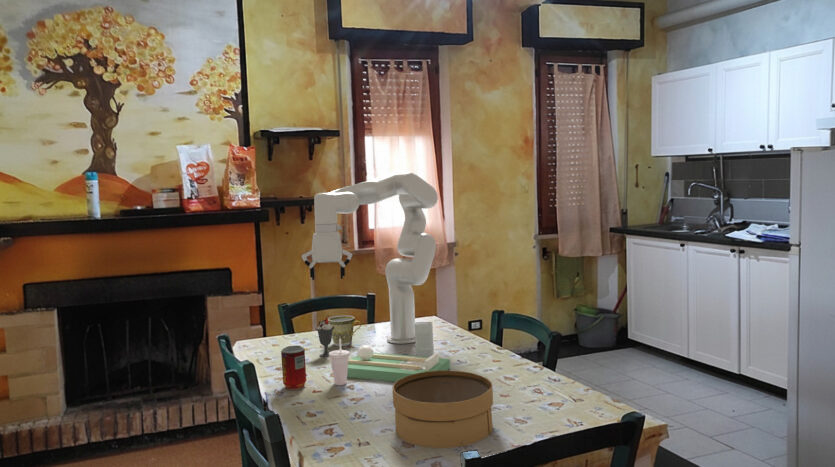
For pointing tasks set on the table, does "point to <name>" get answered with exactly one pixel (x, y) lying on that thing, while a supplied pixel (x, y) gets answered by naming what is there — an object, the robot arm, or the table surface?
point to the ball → (365, 353)
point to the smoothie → (339, 365)
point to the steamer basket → (443, 408)
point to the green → (394, 366)
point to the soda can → (293, 367)
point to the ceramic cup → (343, 329)
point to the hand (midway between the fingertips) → (327, 278)
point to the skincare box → (424, 339)
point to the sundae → (325, 335)
